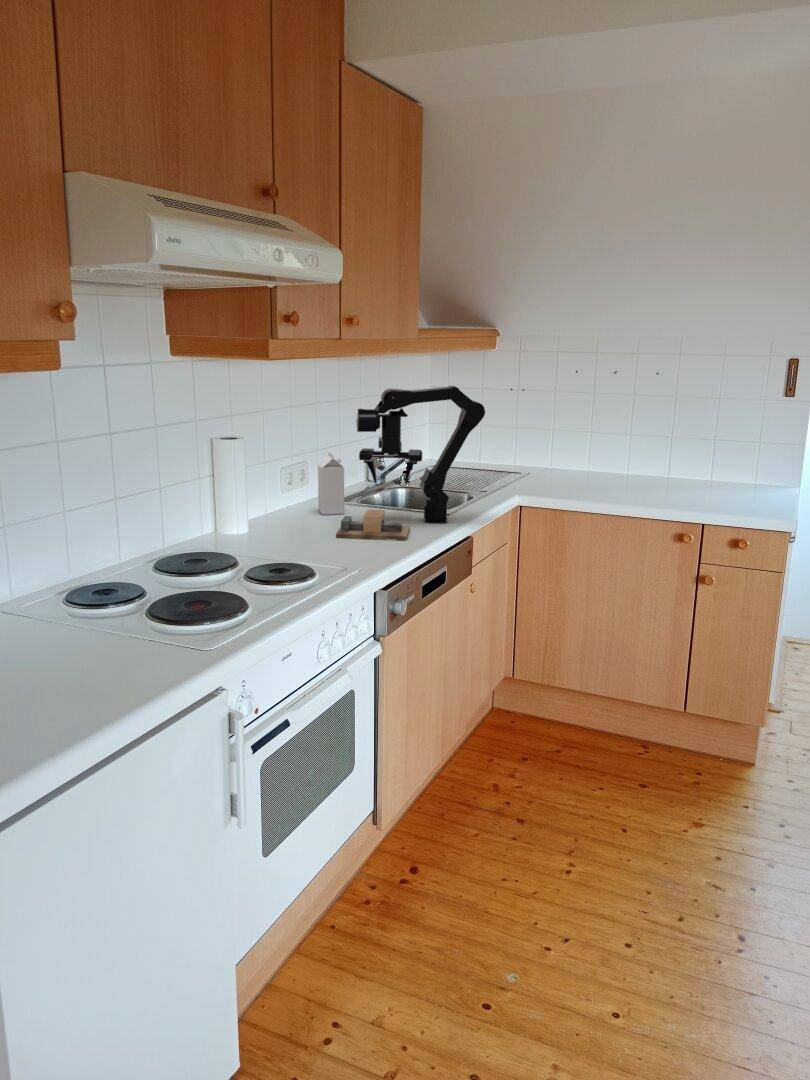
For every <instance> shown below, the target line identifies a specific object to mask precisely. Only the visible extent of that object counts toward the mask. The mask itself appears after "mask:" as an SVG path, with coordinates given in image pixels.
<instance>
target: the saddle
mask: <svg viewBox="0 0 810 1080" xmlns="http://www.w3.org/2000/svg"><path fill="white" fill-rule="evenodd" d="M385 511H386V510H385V509H367V510H366V511H365V513H364V514H363V518H362V519H363V520H362V522H363V533H364V534H381V533H382V522H385V521H386V520H385V518H386V515H385V514H386V512H385ZM385 523H386V522H385Z"/></svg>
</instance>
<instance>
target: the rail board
mask: <svg viewBox="0 0 810 1080" xmlns="http://www.w3.org/2000/svg"><path fill="white" fill-rule="evenodd" d="M352 518H353V517H352V515H345V516H344V517H343V518H342V519H341V520H340V527H339V529H338V530H337V532H336V533H335V538H336V539H359V540H378V539H396V540H395V541H403V540H408V538H409V535H410V531H411V526H409V525H408V526H407V525H406V526H405V525H403V523H402V522H382V533H381V534H364V533H363V521H355V520H354V521H353V520H352ZM408 534H409V535H408ZM407 537H408V538H407Z"/></svg>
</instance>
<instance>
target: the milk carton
mask: <svg viewBox="0 0 810 1080" xmlns="http://www.w3.org/2000/svg"><path fill="white" fill-rule="evenodd" d="M341 462H342V459H340V458H339V457H338V456H336V457H334V454H333V453H332V452H330V451H328V455H327V456H326V457H325V458H324V459H322V460H321V461H320V462H319V463H318V465H317V472H318V473H317V474H318V475H317V479H318V480H317V483H318V484H317V487H318V489H317V493H318V497H317V498H318V499H317V500H318V502H317V503H318V511H319V513H320V514H321V515H323V516H324V515H342V514H344V515H345V467H344V466H343V465H342V464H341Z"/></svg>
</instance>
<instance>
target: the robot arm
mask: <svg viewBox="0 0 810 1080" xmlns="http://www.w3.org/2000/svg"><path fill="white" fill-rule="evenodd" d="M450 400H451V401H452V403H454V404H455V405H456V407H458V408H459V409H460V412H459V416H458V421H457V425H456V427H455V429H454V431H453V432H452V435H451V436H450V438H449V440H448V441H447V444H446V445H445V447H444V449H443V451H442V452H441V454H440V456H439V458H438V459H437V461H436V463H435V465H434V466H433V467H432V468H430V469H428V467H426V468H425V470H424V472H423V475H422V477H420V478H419V480H420V483H419V487H420V490H421V492H422V493H423V494H424V495H425V497H426V498H427V499H426V503H425V504H424V506H423V508H424V509H423V512H424V513H423V516H424V517H423V519H424V520H425V521H424V522H425V523H441V522H445V523H447V522H448V515H447V514H448V501H449V498H450V497H449V496H448V494H446V492H445V491H444V490H443V488H444V486H445V483H446V478H447V475H448V471H449V470H450V468H451V467H452V465H453V463H454V461H455V459H456V458H457V455H458V454H459V452H460V450H461V449H462V447H463V445H464V444H465V442H466V440H467V438H468V436H469V434H470V433H471V432H473V431H472V430H474V429H475V428H476V427H477V426H478V425H479V424H480V423H481V421H482V420H483V419H484V417H485V416H486V410H485V406H484V405H483V404H482V403H480V402H478V401H475V400H473V399H471V398H470V397H468V395H466V394H465V393H463V391H462V390H460V388H458V387H457V386H455V385H449V386H443V387H442V386H441V387H431V388H423V389H414V390H411V389H410V390H408V389H399V388H387V389H385V390H384V391H382V393H381V395H380V401H379V402H378V403H377V405H376V406H375V408H373V409H370V408H369V409H367V408H366V409H365V408H357V415H356V416H357V417H356V431H357V432H358V433H371V432H372V433H376V432H377V430H379V429H380V428H381V436H379V437H378V448H379V449H381V451H375V448H368V447H367V448H362V449H360V451H359V453H358V454H359V455H358V461H363V463H364V464H367V467H368V468H369V470H370V473H371V476H372V479H373V482H374V484H377V480H378V477H377V469H376V458H378V459H379V458H383V459H407V463H406V469H405V477H404V484H407V483H408V481H409V477H410V474H411V471H412V469H413V466H414V465H418V463H419V462H422V461H423V451H422V450H421V449H411V448H410V449H409V450H408V451H402V440H401V439H402V437H401V435H402V433H401V432H402V418H407V417H408V416H409V415H408V414H407V413H406V412H405V411H404V409H403V408H405V407H407V406H410V405H413V404H420V403H421V404H422V403H431V402H442V401H450ZM398 409H399V410H398ZM387 412H388V413H387ZM445 523H444V524H445Z"/></svg>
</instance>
